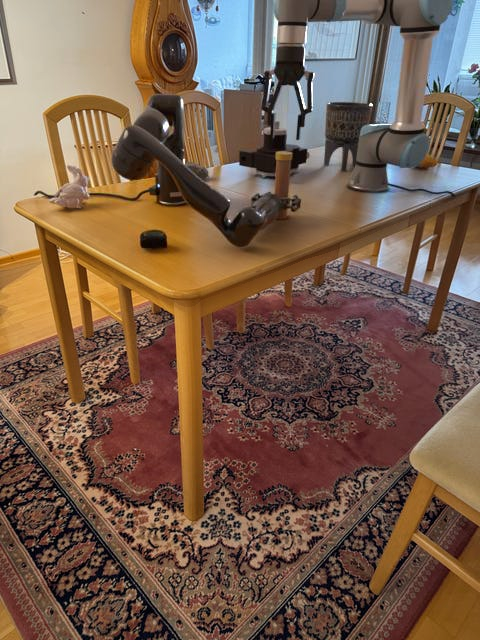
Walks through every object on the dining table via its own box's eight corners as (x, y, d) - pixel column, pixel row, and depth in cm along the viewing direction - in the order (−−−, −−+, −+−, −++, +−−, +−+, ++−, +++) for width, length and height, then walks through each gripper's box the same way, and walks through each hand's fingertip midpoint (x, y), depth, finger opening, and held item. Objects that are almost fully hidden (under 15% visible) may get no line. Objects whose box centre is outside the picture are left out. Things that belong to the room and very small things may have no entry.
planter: (313, 167, 208) (319, 103, 195) (331, 160, 222) (338, 101, 209) (353, 173, 199) (362, 107, 185) (369, 166, 213) (379, 104, 199)
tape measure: (140, 252, 115) (139, 238, 113) (141, 242, 120) (140, 229, 119) (167, 251, 116) (166, 237, 114) (167, 241, 121) (166, 228, 120)
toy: (412, 161, 206) (406, 154, 219) (414, 175, 209) (408, 167, 222) (438, 153, 203) (431, 147, 216) (440, 167, 206) (432, 160, 219)
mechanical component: (240, 120, 182) (283, 115, 202) (239, 174, 192) (280, 164, 212) (283, 126, 170) (325, 120, 190) (280, 183, 180) (320, 171, 200)
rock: (201, 174, 189) (200, 158, 186) (213, 179, 184) (213, 162, 180) (174, 179, 182) (173, 162, 178) (186, 184, 176) (186, 167, 173)
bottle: (272, 218, 141) (276, 155, 132) (273, 214, 145) (277, 152, 135) (286, 219, 141) (290, 156, 131) (287, 215, 144) (291, 153, 135)
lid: (274, 160, 132) (275, 153, 131) (276, 157, 136) (276, 150, 135) (291, 161, 132) (292, 154, 131) (292, 158, 136) (292, 151, 135)
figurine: (99, 203, 151) (94, 164, 145) (61, 214, 140) (53, 172, 134) (83, 199, 155) (77, 161, 149) (45, 209, 144) (37, 168, 138)
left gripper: (242, 219, 132) (261, 205, 145) (289, 226, 128) (304, 211, 141) (242, 194, 128) (262, 181, 141) (291, 200, 124) (306, 186, 137)
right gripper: (330, 46, 121) (320, 138, 132) (257, 45, 125) (254, 134, 136) (327, 46, 114) (318, 142, 126) (251, 44, 118) (248, 138, 130)
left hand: (282, 196), depth 141 cm, fingers open, 8 cm apart
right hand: (285, 138), depth 131 cm, fingers open, 7 cm apart
